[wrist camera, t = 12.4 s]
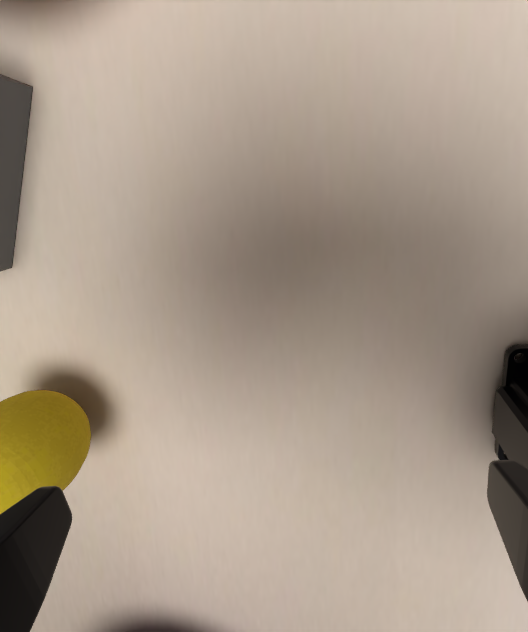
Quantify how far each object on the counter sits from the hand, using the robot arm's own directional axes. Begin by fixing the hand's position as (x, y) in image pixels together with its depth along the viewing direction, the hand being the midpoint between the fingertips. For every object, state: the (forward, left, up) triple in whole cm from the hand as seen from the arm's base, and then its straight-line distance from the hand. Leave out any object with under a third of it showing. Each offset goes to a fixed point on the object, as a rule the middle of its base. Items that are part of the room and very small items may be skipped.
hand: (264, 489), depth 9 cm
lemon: (+14, +6, -13) cm, 20 cm away
